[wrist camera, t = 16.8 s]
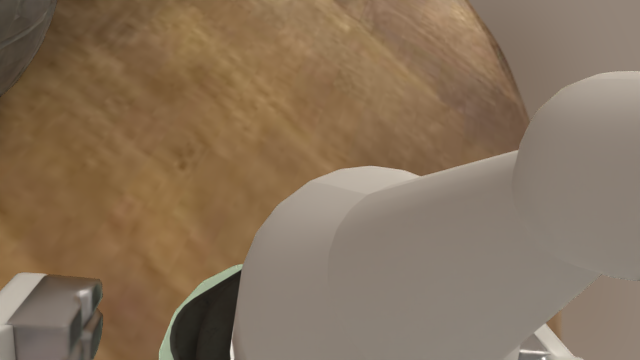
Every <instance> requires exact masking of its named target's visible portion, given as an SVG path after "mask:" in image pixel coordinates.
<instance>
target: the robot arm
mask: <svg viewBox="0 0 640 360" xmlns="http://www.w3.org/2000/svg"><path fill="white" fill-rule="evenodd" d="M102 297H103V293H102V282H101V281H100V279H94V278H84V277H73V276H62V275H51V274H49V275H47V274H40V273H25V272H22V273H19V274H16V275H15V276H14V277H13V278H12V279H11V280H10V281H9V282H8V283H7V285H6V286H5V287H4V288H3V289H2V290H1V291H0V360H93V359H94V356H95V354H96V352H97V350H98V346H99V343H100V339H101V335H102V327H103V314H102V313H101V312H100V311H99V310H98V308H97V306H98V304H99V303H100V301H101V299H102ZM518 360H584V359H583V358H581V357H574V356H573V355H572V353H571V352H570V351H569V350H568V349H567V348H566V347H565V345H564V344H563V343H562V342H561V341H560V340H559V339H558V337H557V336H556V335H555V334H554V333H553V332H552V330H551V329H550V328H549V327H548V326H547V325H546V324H544V325H543V326H541V327H540V328H539V329H538V330H537V331H536V332H534V333H533V334H532V335H531V336H530V337H529V338H527V339H526V340H525V341H524V342H523V343H522V344H520V349H519V356H518Z"/></svg>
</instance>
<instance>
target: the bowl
mask: <svg viewBox="0 0 640 360" xmlns="http://www.w3.org/2000/svg"><path fill="white" fill-rule="evenodd" d="M56 3H57V0H0V97H1V96H2V95H3V94H4V93H5V92H6V91H8V90H9V89H10V88H11V87H12V86H13V85H14V84H15V83H16V82H17V81H18V79H19V78H20V77H21V75H22V74H23V72H24V71H25V69H26V68H27V66H28V65H29V63H30V62H31V60H32V59H33V57H34V56H35V54H36V53H37V51H38V50H39V48H40V46H41V44H42V42H43V40H44V38H45V34H46V32H47V30H48V28H49V26H50V23H51V20H52V17H53V14H54V10H55V7H56Z"/></svg>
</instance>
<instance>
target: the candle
mask: <svg viewBox="0 0 640 360" xmlns="http://www.w3.org/2000/svg"><path fill="white" fill-rule="evenodd" d="M602 274H603V275H606V276H609V277H613V278H620V279H627V280H633V281H640V71H620V72H607V73H600V74H597V75H595V76H592V77H589V78H586V79H583V80H581V81H578V82H576V83H573V84H571V85H568V86H566V87H564V88H562V89H561V90H560V91H559V92H557V93H556V94H555V95H554V96H553V97H552V98H550V99H549V100H548V101H547V102H546V103H545V104H544V105H543V106H542V107H541V108H539V109H538V110H537V111H536V112H535V114H534V116H533V118H532V120H531V122H530V124H529V126H528V128H527V130H526V132H525V134H524V136H523V138H522V141H521V143H520V146H519V150H516V151H513V152H509V153H505V154H502V155H498V156H494V157H491V158H487V159H483V160H480V161H476V162H473V163H469V164H465V165H462V166H458V167H454V168H451V169H447V170H443V171H440V172H436V173H432V174H429V175H425V176H418V175H415V174H413V173H410V172H407V171H404V170H399V169H392V168H384V167H377V166H365V167H356V168H348V169H339V170H337V171H334V172H332V173H329V174H327V175H324V176H321V177H319V178H316V179H314V180H311V181H309V182H308V183H306V184H305V185H304V186H302V187H301V188H300V189H298V190H297V191H296V192H294V193H293V194H292V195H290V196H289V197H288V198H286V199H285V200H284V201H282V202H281V203H280V204H278V205H277V207H276V208H275V209H274V210H273V212H272V213H271V214H270V216H269V217H268V218H267V220H266V221H265V222H264V223H263V225H262V226H261V227H260V229H259V230H258V231H257V233H256V235H255V237H254V240H253V242H252V244H251V247H250V249H249V252H248V254H247V257H246V259H245V262H244V264H243V267H242V269H241V270H239V271H238V272H236V273H234V274H233V275H231V276H230V277H228V278H226V279H225V280H223V281H221V282H220V283H218V284H216V285H215V286H213V287H211V288H210V289H208V290H206V291H205V292H203V293H201V294H200V295H198V296H196V297H195V298H193V299H192V300H191V301H189V302H188V303H187V304H186V305H184V307H183V308H182V309H181V310H180V312H179V313H178V314H177V316H176V318H175V320H174V322H173V325H172V327H171V333H170V338H169V339H170V351H171V353H172V356H173V359H174V360H518V356H519V349H520V344H522V343H523V342H524V341H525V340H526V339H527V338H529V337H530V336H531V335H532V334H533V333H534V332H536V331H537V330H538V329H539V328H540V327H541V326H543V325H544V324H545V323H546V322H547V321H548V320H550V319H551V318H552V317H553V316H554V315H555V314H557V313H558V312H559V311H560V310H561V309H562V308H564V307H565V306H566V305H567V304H568V303H569V302H571V301H572V300H573V299H574V298H575V297H576V296H578V295H579V294H580V293H581V292H582V291H583V290H585V289H586V288H587V287H588V286H589V285H590V284H592V283H593V282H594V281H595V280H596V279H597V278H598V277H600V276H601V275H602Z"/></svg>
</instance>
